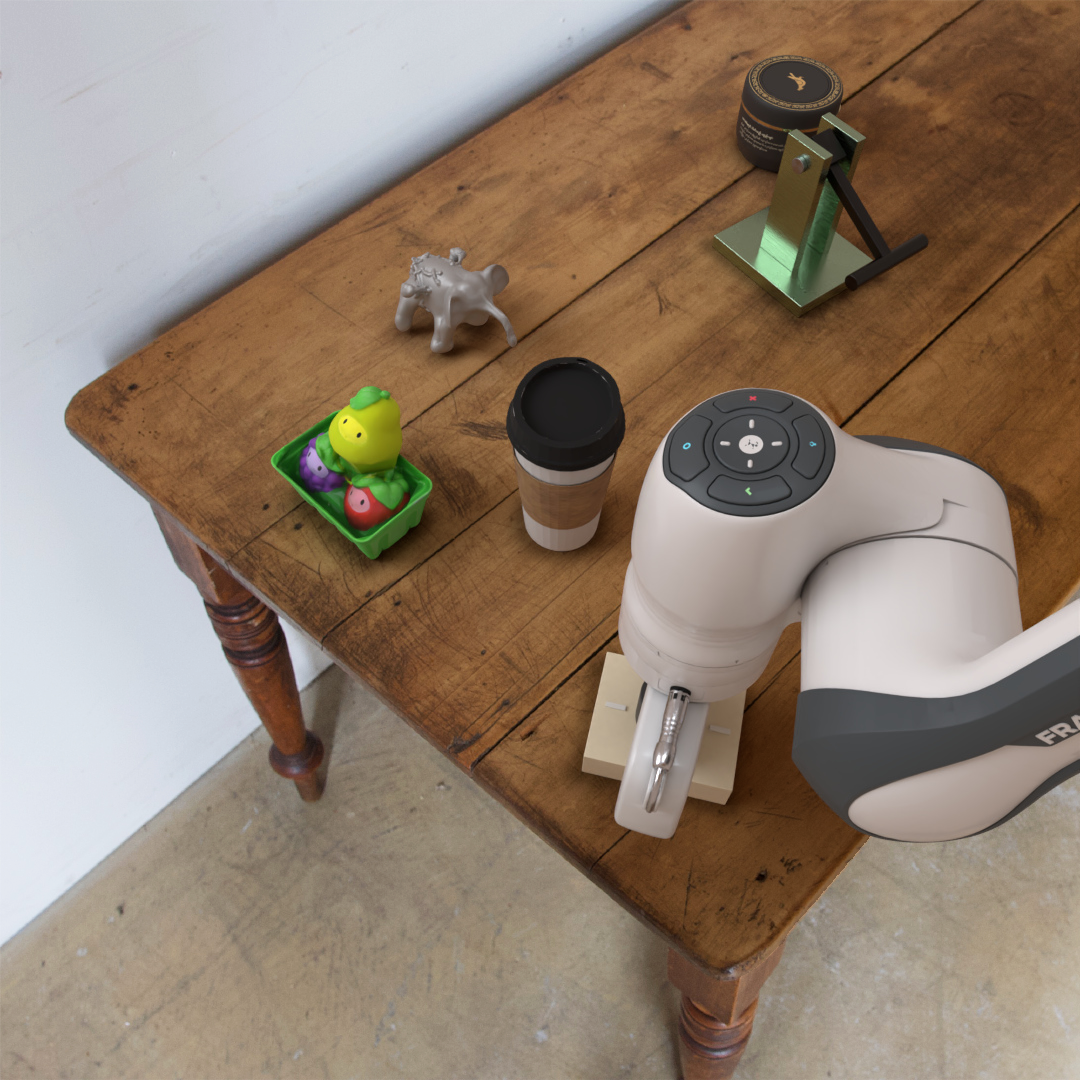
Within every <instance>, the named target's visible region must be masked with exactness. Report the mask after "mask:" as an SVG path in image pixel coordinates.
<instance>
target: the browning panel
mask: <svg viewBox="0 0 1080 1080" xmlns="http://www.w3.org/2000/svg"><path fill="white" fill-rule="evenodd" d="M599 681H600V682H599V686H598V691H597V695H596V699H595V704H594V708H593V713H592V717H591V720H590V721H591V722H590V726H589V731H588V735H587V739H586V744H585V748H584V753H583V756H582V757H583V759H582V765H581V772H584V773H587V774H591V775H596V776H600V777H603V778H608V779H612V780H616V781H620V782H622V778H623V774H624V770H625V766H626V762H627V758H628V754H629V751H630V747H631V743H632V740H633V736H634V732H635V729H636V725H637V724H636V719H635V713H636V708H637V703H638V699H639V695H640V691H641V687H642V684H643V683H644V680H643V679H642V678H641V677H640V676H639V675H638V674H637V673H636V672H635V671H634V670H633V668H632V667H631V665H630V664H629V662H628V661H627V659H626V657H625V655H624V654H620V653H615V652H611V651H606V655H605V660H604V663H603V667H602V673H601V677H600V680H599ZM746 695H747V689H746V690H744V691H743V692H741V693H739V694H737V695H735V696H733V697H730V698H728V699H724V700H720V701H715V702H711V704H710V708H709V713H708V717H707V721H706V726H705V730H704V734H703V738H702V743H701V747H700V751H699V756H698V760H697V764H696V768H695V772H694V776H693V779H692V783H691V787H690V790H689V793H688V796H687V797H690V798H692V799H693V798H694V799H696V800H697V799H698V800H702V801H706V802H710V803H715V804H719V805H726V803H727V802H728V799H729V798H730V796H731V794H732V793H733V790H734V783H735V774H736V768H737V760H738V752H739V747H740V738H741V734H742V733H741V732H742V725H743V717H744V712H745V711H744V710H745V703H746Z"/></svg>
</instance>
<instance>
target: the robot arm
mask: <svg viewBox="0 0 1080 1080" xmlns="http://www.w3.org/2000/svg"><path fill="white" fill-rule="evenodd" d="M1008 501H1009V500H1008V497H1007V494H1006V492H1005V490H1004V488H1003V486H1002V484H1000V482H999V481H998V480H997V479H996V478H995V477H994V476H993V475H992V474H991V473H990V472H988V471H987V470H986V469H985V468H983V467H982V466H980V465H979V464H978V463H976V462H974V461H973V460H971V459H970V458H967V457H965V456H963V455H961V454H960V453H958V452H955V451H952V450H950V449H947V448H944V447H941V446H938V445H935V444H931V443H927V442H924V441H919V440H914V439H909V438H903V437H897V436H889V435H880V434H857V435H855V434H854V435H851V434H849V433H847V432H846V431H845V430H843V429H841V428H840V427H839V426H838V425H837V424H836V423H835V422H834V421H833V420H832V419H831V418H830V416H829V415H827V413H825V412H824V411H823V410H822V409H821V408H819V407H818V406H817V405H815V404H813V403H812V402H810V401H808V400H807V399H805V398H803V397H801V396H798V395H796V394H792V393H789V392H787V391H782V390H778V389H772V388H760V387H743V388H738V389H733V390H727V391H725V392H721V393H718V394H716V395H713V396H711V397H709V398H707V399H706V400H703V401H701V402H700V403H698V404H697V405H695V406H694V407H692V408H691V409H689V410H688V411H687V412H686V413H684V415H683V416H681V417H680V418H679V419H678V420H677V421H676V422H675V423H674V424H673V425H672V426H671V428H670V429H669V430H668V431H667V433H666V434H665V435H664V436H663V439H661V442H660V443H659V445H658V447H657V449H656V451H655V453H654V455H653V457H652V459H651V461H650V463H649V466H648V469H647V471H646V473H645V476H644V480H643V482H642V486H641V489H640V493H639V496H638V500H637V505H636V510H635V513H634V519H633V526H632V530H631V541H630V543H631V544H630V550H631V558H630V560H629V563H628V565H627V569H626V573H625V577H624V584H623V588H622V589H623V590H622V596H621V601H620V602H621V603H620V609H619V616H618V623H617V624H618V626H617V630H618V638H619V644H620V647H621V650H622V653H623V655H625V657H626V659H627V661H628V662H629V664H630V665H631V667H632V668H633V670H634V671H635V672H636V673H637V674H638V675H639V676H640V677H641V678H642V679H643V680H644V681H645V682H646V683H647V684H648V685H647V688H646V692H645V696H644V699H643V703H642V707H641V710H640V714H639V718H638V721H637V725H636V729H635V732H634V736H633V740H632V743H631V747H630V751H629V754H628V758H627V762H626V766H625V770H624V774H623V778H622V781H620V785H619V789H618V790H619V791H618V794H617V799H616V803H615V807H614V814H613V815H614V817H613V818H614V820H615V822H616V824H618V826H620V827H623V828H625V829H628V830H631V831H633V832H637V833H639V834H643V835H646V836H650V837H654V838H657V839H664V840H665V839H666V840H667V839H671V837H673V836H674V835H675V832H676V830H677V827H678V825H679V822H680V820H681V817H682V815H683V811H684V807H685V805H686V802H687V799H688V797H689V796H688V793H689V790H690V787H691V783H692V779H693V776H694V772H695V768H696V764H697V760H698V756H699V751H700V747H701V743H702V738H703V734H704V730H705V726H706V721H707V717H708V713H709V708H710V704H711V702H715V701H720V700H724V699H728V698H730V697H733V696H735V695H737V694H739V693H741V692H743V691H744V690H746V691H747V689H749V688H750V687H751V686H753V684H755V683H756V681H757V680H758V679H760V677H761V676H762V674H763V673H764V672H765V670H766V669H767V666H768V665H769V662H770V660H771V658H772V657H773V654H774V652H775V649H776V647H777V645H778V642H779V640H780V639H781V637H782V634H783V632H784V631H785V629H786V628H787V627H788V626H789V625H791V624H794V623H800V631H801V632H800V640H801V641H800V692H799V693H798V694H797V700H796V709H795V719H794V728H793V736H792V737H793V739H792V748H791V761H792V762H793V764H794V765H795V766H796V768H797V769H798V771H799V772H800V774H801V775H802V777H803V778H804V779H805V781H806V782H807V784H808V785H809V786H810V787H811V789H812V790H813V791H814V792H815V793H816V795H817V796H818V797H819V798H820V799H821V800H822V802H824V803H825V805H826V806H828V808H829V809H830V810H831V811H832V812H833V813H835V814H836V815H837V816H838V817H839V819H841V820H842V821H843V822H845V823H846V824H847V825H848V826H849V827H850V828H852V829H853V830H855V831H857V832H859V833H861V834H863V835H866V836H869V837H873V838H876V839H880V840H884V841H890V842H898V843H910V844H911V843H912V844H913V843H914V844H929V843H932V844H933V843H943V842H951V841H958V840H959V841H960V840H963V839H967V838H972V837H976V836H979V835H982V834H985V833H987V832H989V831H992V830H994V829H997V828H998V827H1000V826H1003V825H1004V824H1006V823H1008V822H1009V821H1010V820H1012V819H1013V818H1015V817H1016V816H1018V815H1019V814H1020V813H1022V812H1023V811H1025V810H1027V808H1029V807H1031V806H1032V805H1033V804H1035V802H1037V801H1038V800H1039V799H1041V798H1042V797H1044V796H1045V795H1046V794H1048V793H1049V792H1052V790H1053V789H1056V788H1057V787H1058V786H1059V785H1062V784H1063V783H1065V782H1066V781H1068V780H1070V779H1071V778H1073V777H1075V776H1077V775H1079V774H1080V597H1078V598H1076V599H1075V600H1074V601H1072V602H1070V603H1069V604H1067V605H1065V606H1064V607H1062V608H1060V609H1059V610H1057V611H1055V612H1054V613H1052V614H1051V615H1048V616H1047V617H1045V618H1044V619H1042V620H1041V621H1039V622H1037V623H1036V624H1033V626H1031V627H1029V628H1028V629H1025V630H1024V628H1023V620H1022V614H1021V613H1022V612H1021V606H1020V598H1019V597H1020V596H1019V573H1018V565H1017V559H1016V558H1017V557H1016V550H1015V545H1014V544H1015V543H1014V537H1013V531H1012V530H1013V529H1012V523H1011V518H1010V512H1009V503H1008Z"/></svg>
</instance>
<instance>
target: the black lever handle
mask: <svg viewBox="0 0 1080 1080" xmlns="http://www.w3.org/2000/svg"><path fill="white" fill-rule="evenodd" d="M811 140H813V141H814V142H816V143H817V144H818V145H820V146H821V147H823V148H824V149H825V150H827V151H828V152H830V153H831V154H832V155H833V157H832V160H831V164H830V167H829V170H828V174H827V177H826V178H827V180H828V181H829V183H830V185H831V186H832V188H833V190H834V191H835V193H836V195H837V196H838V198H839V200H840V201H841V203H842V205H843V206H844V207H843V209H844V210H845V211H846V213H847V215H848V216H849V218H850V220H851V221H852V223H853V225H854V226H855V228H856V230H857V231H858V234H859V235H860V237H861V239H862V240H863V241H864V243H865V246H866V247H867V248H868V250H869V252H870V253H871V255H872V257H873V258H874V259H872V260H873V261H871V262H870V263H868V264H866V265H864V266H863V267H861V268H859V269H858V270H856V271H854V272H853V273H851V274H849V275H847V276H846V278H845V285H846V287H847V289H848V290H849V291H851V292H853V291H854V292H855V291H857V290H858V289H860V288H862V287H864V286H866V285H867V284H869V283H870V282H872V281H874V280H875V279H878V277H881V276H882V275H884V274H886V273H887V272H889V271H890V270H893V269H894V268H895V267H897V266H899V265H900V264H902V263H904V262H905V261H907V260H909V259H910V258H913V256H915V255H917V254H919V253H921V252H922V251H924V250H925V249H927V248H928V246H929V244H930V243H929V239H928V236H926V234H924V233H917V234H916V235H914V236H912V237H911V238H909V239H907V240H905V241H903V242H902V243H900V244H899V245H897V246H895V247H893V248H892V249H890V247H889V245H888V244H887V241H886V240H885V238H884V237H883V235H882V233H881V232H880V230H879V229H878V226H877V225H876V223H875V222H874V219H873V218H872V216H871V215H870V214H869V211H868V210H867V209H866V206H865V205H864V202H862V200H861V198H860V197H859V195H858V193H857V192H856V189H855V188H854V186H852V183H850V182H849V180H848V178H847V177H846V175H845V173H844V172H843V170H842V168H841V167H840V165H839V162H840V161H841V160H842V159H843V158H844V157H846V156H847V155H846V153H845V151H844V150H843V148H842V146H841V145H840V143H839V141H838V140H837V138H836V136H835V135H834V133H833V131H832V130H831V128H828V129H827V130H825V131H823V132H821V133H819V134H817V135H815V136H813V137H812V138H811Z"/></svg>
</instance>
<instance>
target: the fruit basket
mask: <svg viewBox="0 0 1080 1080" xmlns="http://www.w3.org/2000/svg"><path fill="white" fill-rule="evenodd" d="M401 416H402V413H401V409H400V406H399V404H398V402H397V401H396V399H394V398H393V397H392V396H391V392H390V391H388V390H384V389H383V390H382V389H381V388H379V387H377V386H375V385H368V386H364V387H362V388H360V390H358V392H357V393H356V395H355V396H354V397H351V398H350V399H349V404H348V405H346V406H344V407H343V408H342V409H337V410H335V411H333V412H331V413H330V414H329V415H327V416H326V417H325V418H323V419H322V420H319V421H318V422H317V423H315V424H313V426H311V427H310V428H308V429H307V430H305V431H303V432H302V433H301V434H300V435H298V436H297V437H296V438H294V439H292V440H291V441H290V442H288V443H287V444H285V445H283V446H282V447H281V448H280V449H279V450H278V451H276V452H275V453H274V454H273V455H272V456H271V459H270V464H271V466H272V467H273V468H274V469H275V470H276V472H277V473H278V474H279V475H280V476H282V478H284V479H285V480H286V481H287V482H288V483H289V484H290V485H291V486H292V487H293V488H294V490H295V491H296V492H297V493H298V495H299V496H300V497H301V498H302V499H303V500H304V501H306V503H307V504H309V505H310V506H311V507H313V508H315V509H316V510H317V512H318V513H319V514H320V515H321V516H322V517H323V518H324V519H325V520H327V521H328V523H330V524H331V525H333V526H335V528H337V530H338V531H339V532H340V533H341V534H342V535H343V536H344V537H345V538H346V539H347V540H349V541H350V542H351V543H354V544H355V545H356V546H357V548H358V549H359V550H360V552H362V553H363V554H364V555H365V556H366V557H367V558H368V559H369V560H372V561H373V560H376V559H377V558H379V556H380V554H382V552H383V551H385V550H387V549H389V548H391V547H392V546H393V545H394V544H395V543H396V542H398V541H399V540H401V538H403V537H404V536H405V535H406V534H407V533H408V532H409V529H412V528H414V527H416V526H418V525H419V524H420V522H421V519H422V516H423V513H424V509H425V506H426V502H427V500H428V499H429V497H430V495H431V493H432V489H433V481H432V480H431V479H430V477H428V476H427V475H425V474H424V473H423V472H422V471H421V470H419V468H417V467H416V466H415V465H414V464H412V463H411V462H410V461H409V460H408V459H407V458H405V457H404V456H403V455H402V454H400V452H401V450H402V446H403V430H402V426H401V418H402V417H401Z"/></svg>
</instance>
